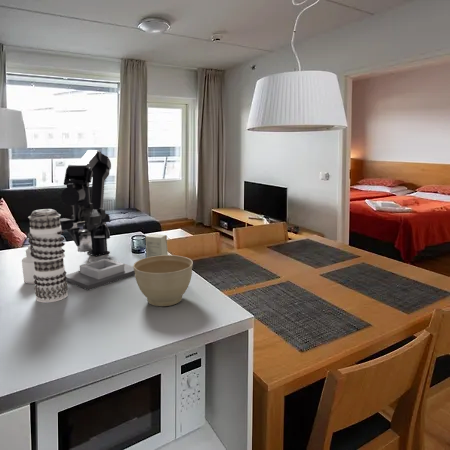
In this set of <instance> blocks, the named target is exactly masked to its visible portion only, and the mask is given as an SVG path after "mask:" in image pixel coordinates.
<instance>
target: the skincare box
mask: <svg viewBox="0 0 450 450" xmlns="http://www.w3.org/2000/svg"><path fill="white" fill-rule="evenodd" d="M167 237H168V236H167V234H157V233H151V234H148V235H146V236H145V252H146V258H147V257H152V256H160V255H169V252H168V238H167Z"/></svg>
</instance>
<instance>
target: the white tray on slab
mask: <svg viewBox="0 0 450 450" xmlns="http://www.w3.org/2000/svg"><path fill="white" fill-rule="evenodd" d="M65 276H66V277H67V279H66V282H67V283H69V284H72V285H74V286H77V287H78V288H81V289H84V290H87V291H91V290H93V289H96V288H99V287H103V286H105V285H108V284H111V283H114V282H117V281H121V280H124V279H125V278H129V277H133V276H135V271H134V268H133V265H130V264H126V263H123V262H120V261H116V260H111V259H109V258H102V259H99V260H96V261H95V260H94V261H91V262H87V263H85V264H80V265H79V270H78V271H73V272H71V273H66V275H65Z"/></svg>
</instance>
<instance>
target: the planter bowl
mask: <svg viewBox="0 0 450 450" xmlns="http://www.w3.org/2000/svg"><path fill="white" fill-rule="evenodd" d="M193 261H194V260H192V259H191V258H189V257H186V256H181V255H174V254H171V255H170V254H168V255H160V256H152V257H147V256H146V257H144V258H140V259H139V260H137V261H136V262H135V263H134V264H133V265H132V266H133V268H134V271H135V275H134V277H135V281H136V284H137V287H138V288H139V290H140V292H141V293H142V295H143V296H145V298H146V300H147V303H148V304H149V305H151V306H155V307H168V306H174V305H176V304H178V303H180V302H182V299H183V296H184V294H185V293H186V292H187V290H188V288H189V285H190V283H191V280H192V275H193V266H194V264H193V263H194V262H193Z"/></svg>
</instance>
